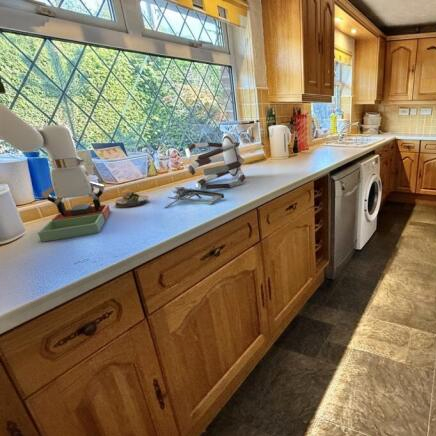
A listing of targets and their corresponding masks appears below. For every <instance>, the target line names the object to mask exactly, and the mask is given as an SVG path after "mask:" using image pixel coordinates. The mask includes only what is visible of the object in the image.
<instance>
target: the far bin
mask: <svg viewBox="0 0 436 436" xmlns="http://www.w3.org/2000/svg"><path fill="white" fill-rule="evenodd" d="M91 206H92V205H91ZM71 209H72V208H70V209H66V212H67V213H66V214H65V215H62V214H61V213H59V212H58V213H57V214H56V215H55V216H54V217H53V218H51V221H56V220H63V219H70V218H77V217H83V216H90V215H97V214H103V217H104V221H107V219H108V217H109V215H110V214H111V209H110V206H109V204H108V203H107V204H101V207H100V209H99V210H98V211H97V210H96V209H95V206H94V205H93V206H92V209H93V212H94V213H92V214H85V215H78V216H71V213H70V210H71Z"/></svg>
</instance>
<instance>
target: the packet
mask: <svg viewBox="0 0 436 436" xmlns="http://www.w3.org/2000/svg"><path fill="white" fill-rule="evenodd" d="M70 209H71V210H70ZM70 209H69V210H70V213H71V216H78V215H85V214H92V213H94V212H93V209H92V204H91V202H89V203H81V204H74V205H73V207H72V208H70Z"/></svg>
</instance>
